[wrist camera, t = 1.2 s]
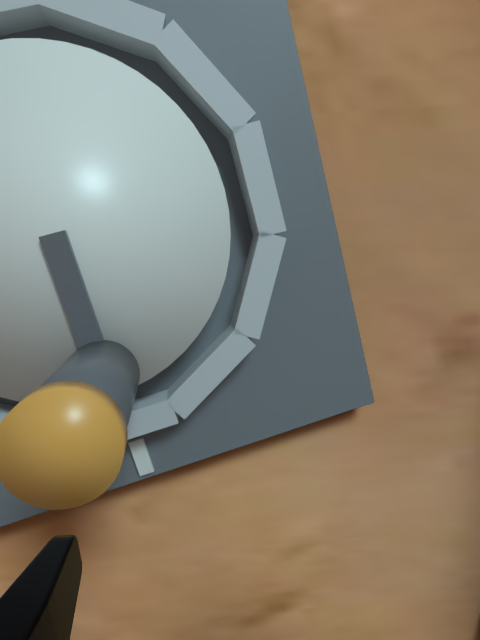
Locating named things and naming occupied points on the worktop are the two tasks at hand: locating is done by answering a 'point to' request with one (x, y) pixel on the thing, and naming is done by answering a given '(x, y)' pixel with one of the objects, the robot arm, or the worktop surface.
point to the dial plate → (245, 224)
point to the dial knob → (94, 259)
